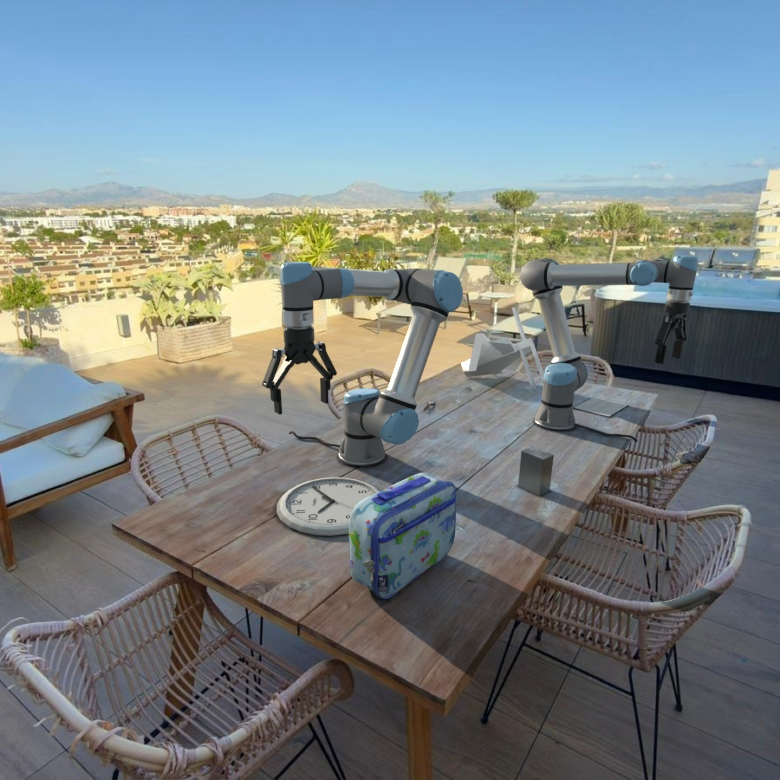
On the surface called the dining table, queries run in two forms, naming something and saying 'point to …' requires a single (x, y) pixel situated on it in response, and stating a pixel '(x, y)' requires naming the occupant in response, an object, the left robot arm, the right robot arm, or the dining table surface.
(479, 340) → the white plastic object
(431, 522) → the lunch box
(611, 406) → the invitation card
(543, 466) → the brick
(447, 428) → the dining table surface
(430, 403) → the fork
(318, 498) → the wall clock
